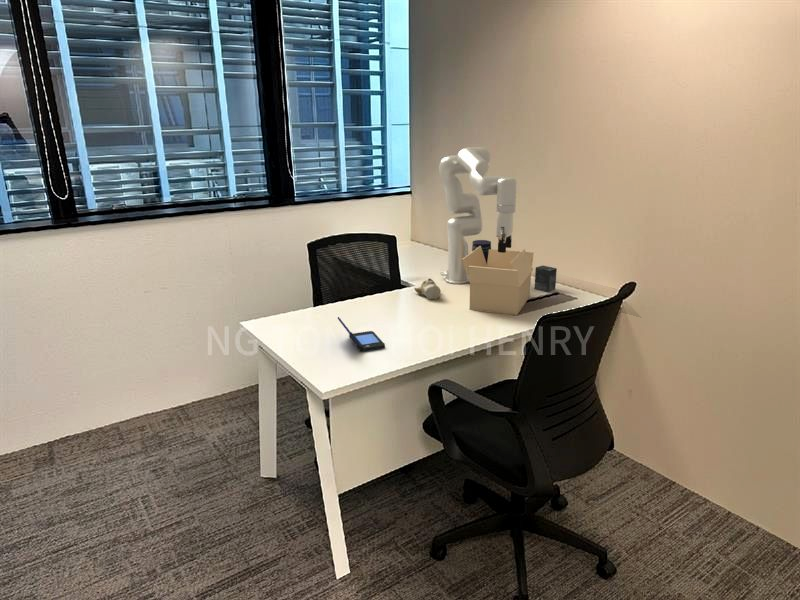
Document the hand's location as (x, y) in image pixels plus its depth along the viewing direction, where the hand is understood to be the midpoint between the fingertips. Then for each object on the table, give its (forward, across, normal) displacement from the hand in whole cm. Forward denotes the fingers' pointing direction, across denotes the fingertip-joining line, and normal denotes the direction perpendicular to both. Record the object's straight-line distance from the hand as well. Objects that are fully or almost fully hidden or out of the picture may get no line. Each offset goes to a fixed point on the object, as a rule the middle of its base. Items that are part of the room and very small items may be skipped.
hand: (504, 249), depth 221 cm
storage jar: (+23, -51, -24) cm, 61 cm away
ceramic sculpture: (+24, +1, -34) cm, 41 cm away
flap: (+7, 0, +7) cm, 10 cm away
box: (+24, -27, +13) cm, 38 cm away
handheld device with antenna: (+24, +61, -36) cm, 75 cm away
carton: (+23, -1, -3) cm, 24 cm away
